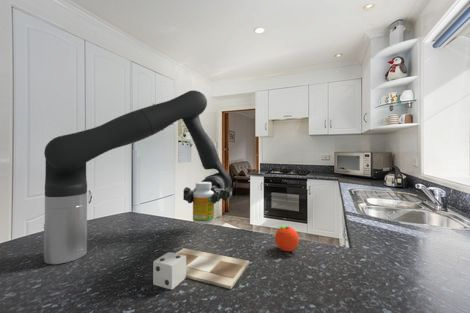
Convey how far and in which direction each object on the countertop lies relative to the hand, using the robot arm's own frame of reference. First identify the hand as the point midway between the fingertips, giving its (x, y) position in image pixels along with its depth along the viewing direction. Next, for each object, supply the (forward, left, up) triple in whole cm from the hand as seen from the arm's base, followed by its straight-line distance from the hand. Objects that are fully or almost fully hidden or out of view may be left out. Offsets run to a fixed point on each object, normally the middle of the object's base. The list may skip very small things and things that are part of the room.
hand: (201, 199), depth 53 cm
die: (-4, -6, -17) cm, 19 cm away
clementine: (+17, +20, -18) cm, 32 cm away
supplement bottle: (-1, +2, -6) cm, 7 cm away
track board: (-1, +2, -17) cm, 18 cm away
